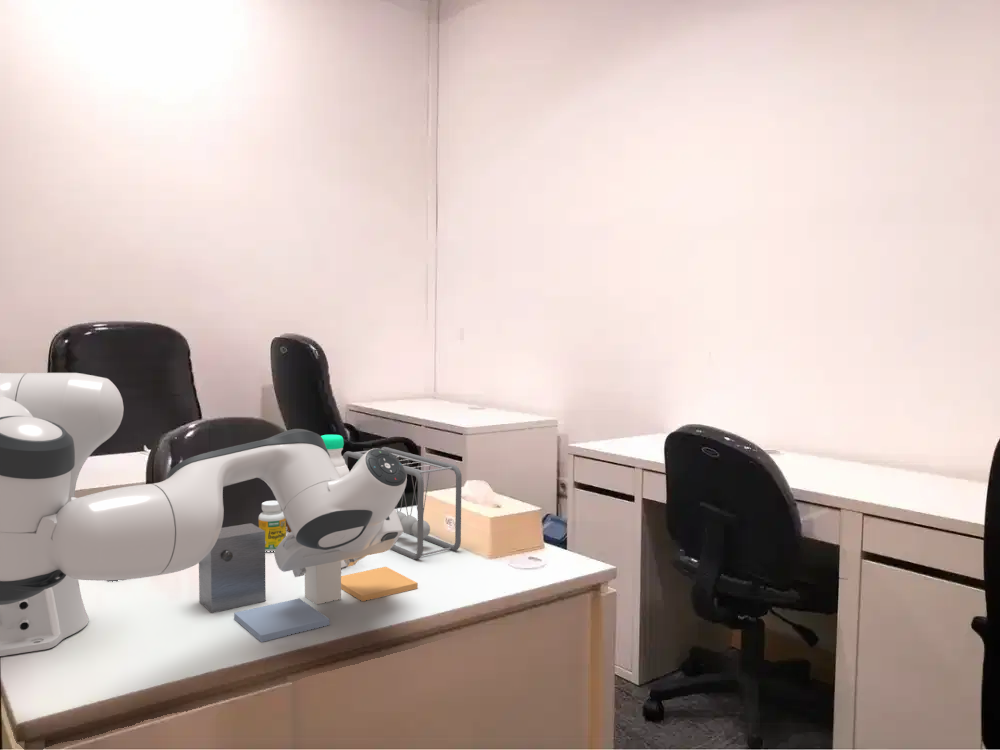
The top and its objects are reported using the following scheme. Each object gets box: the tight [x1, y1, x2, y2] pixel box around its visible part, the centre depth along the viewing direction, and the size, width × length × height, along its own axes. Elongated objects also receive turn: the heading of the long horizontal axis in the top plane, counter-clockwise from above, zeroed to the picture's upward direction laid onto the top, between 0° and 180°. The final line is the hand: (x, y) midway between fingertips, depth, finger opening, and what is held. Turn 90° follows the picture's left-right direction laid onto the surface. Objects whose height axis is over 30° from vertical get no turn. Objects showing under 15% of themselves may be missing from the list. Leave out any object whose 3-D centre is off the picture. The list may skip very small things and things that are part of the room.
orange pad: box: [341, 566, 419, 602], centre depth 145 cm, size 11×11×1 cm
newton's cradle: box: [342, 446, 463, 561], centre depth 173 cm, size 30×10×18 cm, turn 41°
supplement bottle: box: [258, 500, 287, 551], centre depth 166 cm, size 5×5×10 cm
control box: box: [198, 523, 267, 614], centre depth 136 cm, size 9×7×12 cm
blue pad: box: [233, 597, 330, 643], centre depth 128 cm, size 11×11×1 cm
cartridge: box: [304, 561, 342, 605], centre depth 139 cm, size 5×5×9 cm
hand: (323, 567), depth 139 cm, fingers open, 8 cm apart
